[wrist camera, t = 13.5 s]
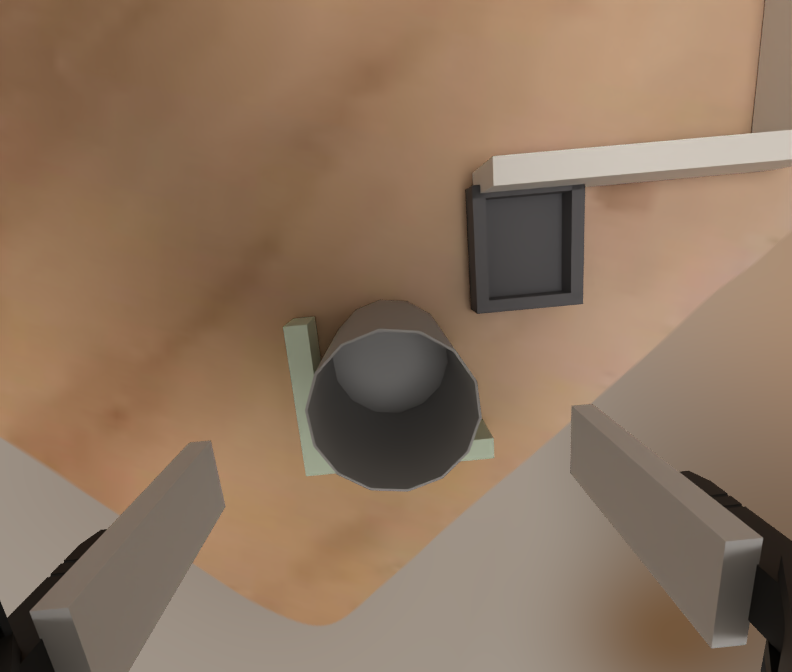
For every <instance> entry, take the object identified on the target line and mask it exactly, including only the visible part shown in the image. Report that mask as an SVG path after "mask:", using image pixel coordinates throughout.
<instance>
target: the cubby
mask: <svg viewBox="0 0 792 672" xmlns="http://www.w3.org/2000/svg"><path fill="white" fill-rule="evenodd" d="M791 166H792V0H765V8H764V18H763V28H762V37H761V47H760V57H759V66H758V76H757V86H756V95H755V105H754V115H753V125H752V133H749V134H738V135H727V136H715V137H704V138H693V139H681V140H670V141H659V142H647V143H636V144H625V145H614V146H602V147H591V148H580V149H568V150H557V151H546V152H534V153H523V154H512V155H501V156H492V157H491V158H490V159H489V160H488V161H486V162H485V163H484V164H483V165H482V166H480V167H479V168H478V169H477V170H476V171H474V172H473V173H472V179H473V185H480V193H489V192H500V191H511V190H522V189H533V188H544V187H556V186H567V185H578V184H585V187H593V186H604V185H615V184H626V183H638V182H649V181H660V180H671V179H682V178H693V177H705V176H716V175H727V174H738V173H749V172H760V171H771V170H776V169H781V168H786V167H791Z"/></svg>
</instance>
